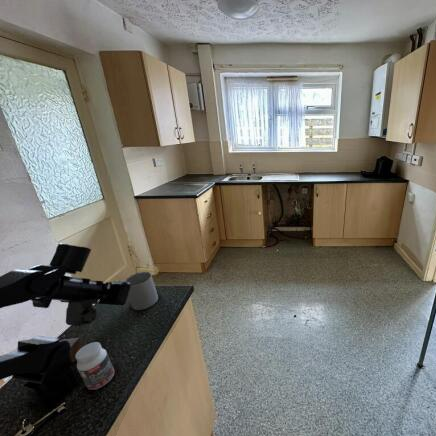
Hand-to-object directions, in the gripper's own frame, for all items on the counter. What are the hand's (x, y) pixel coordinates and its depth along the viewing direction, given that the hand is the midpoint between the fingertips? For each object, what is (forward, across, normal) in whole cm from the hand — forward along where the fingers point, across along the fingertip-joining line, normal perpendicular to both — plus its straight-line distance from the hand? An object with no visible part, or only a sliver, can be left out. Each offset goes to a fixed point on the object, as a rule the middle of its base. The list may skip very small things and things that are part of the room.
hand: (118, 295), depth 74 cm
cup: (+14, 0, -1) cm, 14 cm away
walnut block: (-2, -6, -17) cm, 18 cm away
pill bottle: (-6, +8, -21) cm, 23 cm away
